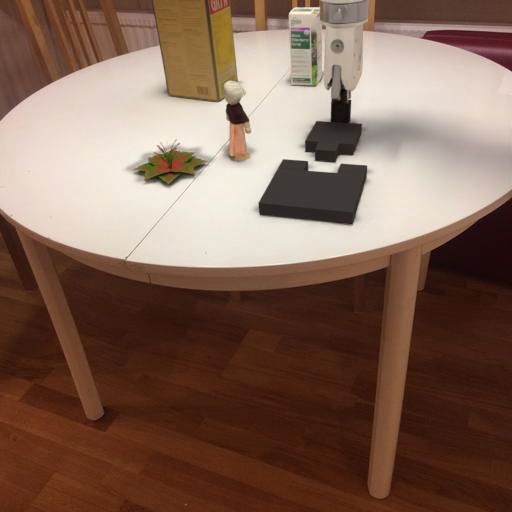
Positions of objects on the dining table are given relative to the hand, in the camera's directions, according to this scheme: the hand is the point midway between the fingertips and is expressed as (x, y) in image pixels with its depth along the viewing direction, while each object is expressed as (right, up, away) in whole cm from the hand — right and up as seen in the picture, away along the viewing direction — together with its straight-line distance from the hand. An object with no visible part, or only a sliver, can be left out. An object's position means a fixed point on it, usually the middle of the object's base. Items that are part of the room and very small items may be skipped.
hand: (340, 122), depth 92 cm
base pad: (-6, -15, -16) cm, 23 cm away
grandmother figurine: (-18, -7, -4) cm, 19 cm away
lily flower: (-29, -9, -6) cm, 31 cm away
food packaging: (-26, +12, +22) cm, 36 cm away
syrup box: (-4, +14, +22) cm, 26 cm away
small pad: (-2, -5, -4) cm, 7 cm away
